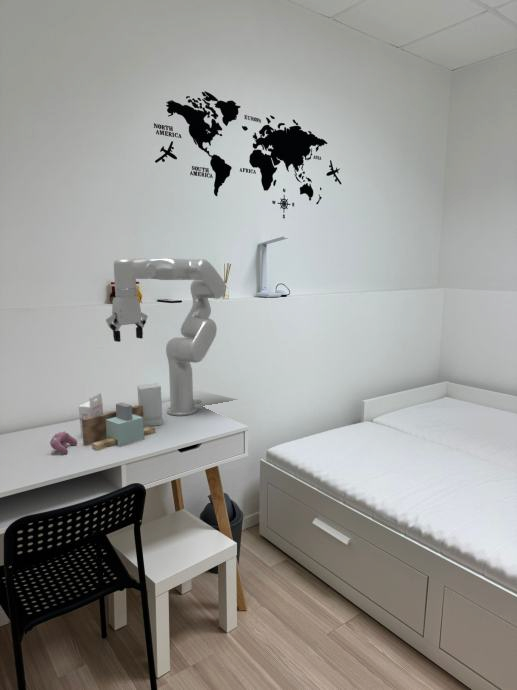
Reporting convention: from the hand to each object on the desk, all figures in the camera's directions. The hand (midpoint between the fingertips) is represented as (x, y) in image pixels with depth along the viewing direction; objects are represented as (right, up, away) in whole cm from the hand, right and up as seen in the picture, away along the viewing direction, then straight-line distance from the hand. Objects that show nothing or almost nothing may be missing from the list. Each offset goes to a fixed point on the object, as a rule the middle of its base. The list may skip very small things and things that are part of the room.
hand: (128, 339), depth 186 cm
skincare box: (+6, -33, +9) cm, 35 cm away
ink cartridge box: (-13, -35, -1) cm, 37 cm away
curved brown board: (-1, -35, -7) cm, 36 cm away
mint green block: (+1, -36, -8) cm, 37 cm away
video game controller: (-17, -38, -17) cm, 45 cm away
